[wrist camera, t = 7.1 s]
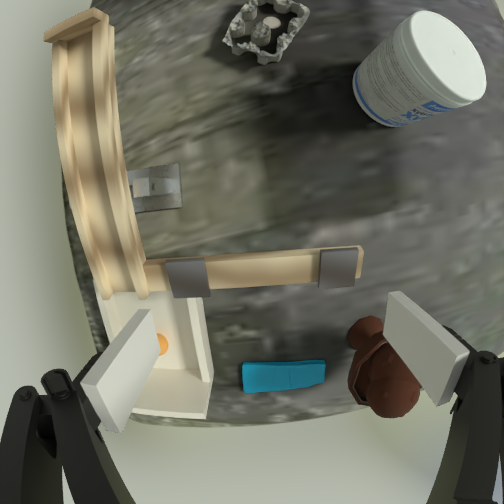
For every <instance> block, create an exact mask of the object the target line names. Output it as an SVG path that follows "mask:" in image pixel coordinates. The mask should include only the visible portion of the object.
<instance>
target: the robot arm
mask: <svg viewBox="0 0 504 504" xmlns="http://www.w3.org/2000/svg"><path fill="white" fill-rule="evenodd" d="M383 335H384V337H385V338H386V339H387V341H388V342H389V343H390V344H391V346H392V347H393V348H394V350H395V351H396V352H397V353H398V355H399V356H400V357H401V359H402V360H403V361H404V363H405V364H406V365H407V367H408V368H409V369H410V371H411V372H412V373H413V375H414V376H415V377H416V379H417V380H418V381H419V383H420V384H421V386H422V387H423V388H424V390H425V391H426V392H427V394H428V395H429V397H430V398H431V399H432V401H433V402H434V404H435V405H436V407H437V406H440V405H442V404H444V403H447V402H449V401H450V399H451V397H452V395H453V393H454V392H455V393H456V394H457V395H458V397H457V399H456V401H455V403H454V405H453V407H452V410H451V411H450V414H452V412H453V411H454V413H453V417H452V422H451V427H450V431H449V436H448V440H447V444H446V448H445V451H444V455H443V458H442V462H441V465H440V468H439V471H438V474H437V477H436V480H435V483H434V486H433V488H432V491H431V493H430V496H429V499H428V501H427V503H426V504H498V503H497V502H494V501H493V500H492V495H493V491H494V486H495V481H496V475H497V469H498V461H499V453H500V461H501V471H502V487H503V504H504V357H503V358H498V357H497V356H496V355H495V354H493V353H492V352H489V351H479V352H477V351H476V350H475V349H474V348H473V347H472V346H470V345H469V344H468V343H467V342H466V341H465V340H464V339H463V340H462V338H461V337H460V336H459V335H457V333H456V332H454V331H453V330H452V329H450V328H448V327H446V326H444V325H442V326H441V325H440V324H439V323H438V322H437V321H436V320H434V319H433V318H432V317H431V316H430V315H429V314H427V313H426V312H425V311H424V310H423V309H421V308H420V307H419V306H418V305H417V304H415V303H414V302H413V301H412V300H411V299H409V298H408V297H407V296H406V295H404V294H403V293H402V292H401V291H395V292H389V293H388V302H387V310H386V317H385V324H384V330H383ZM160 352H161V349H160V345H159V341H158V337H157V333H156V329H155V325H154V321H153V316H152V312H151V309H138V311H137V312H136V313H135V314H134V315H133V317H132V318H131V319H130V320H129V321H128V323H127V324H126V325H125V326H124V327H123V329H122V330H121V331H120V332H119V334H118V335H117V336H116V337H115V339H114V340H113V341H112V342H111V344H110V345H109V346H108V347H107V349H106V350H105V351H104V352H99V353H97V354H96V355H94V356H93V357H92V358H91V359H90V360H89V362H88V363H87V364H86V365H85V367H84V368H83V370H81V372H80V373H79V374H78V375H77V377H76V378H75V379H74V380H73V382H72V381H71V379H70V376H69V374H68V372H67V371H66V370H64V369H54V370H51V371H48V372H47V373H46V374H44V375H43V377H42V378H41V383H42V385H43V387H44V389H45V391H46V393H47V394H48V395H39V394H38V393H37V390H36V389H35V387H33V386H23V387H21V388H19V389H18V390H17V391H16V392H15V394H14V396H13V399H12V402H11V405H10V408H9V412H8V415H7V418H6V422H5V426H4V429H3V434H2V437H1V442H0V504H64V503H63V489H62V488H63V487H62V466H63V469H64V473H65V476H66V479H67V483H68V486H69V489H70V492H71V494H72V497H73V500H74V503H75V504H136V503H135V502H134V500H133V498H132V497H131V495H130V493H129V491H128V489H127V488H126V486H125V484H124V482H123V480H122V478H121V476H120V474H119V473H118V471H117V469H116V466H115V465H114V462H113V460H112V458H111V456H110V454H109V452H108V449H107V447H106V445H105V442H104V440H103V438H102V435H101V433H100V431H99V430H98V426H99V424H100V422H101V423H102V424H103V426H104V428H105V429H106V431H111V432H115V433H120V434H121V433H122V431H123V429H124V427H125V424H126V422H127V420H128V418H129V416H130V414H131V412H132V409H133V407H134V405H135V403H136V401H137V399H138V397H139V395H140V393H141V391H142V388H143V386H144V384H145V382H146V380H147V378H148V376H149V374H150V372H151V370H152V368H153V366H154V364H155V362H156V360H157V358H158V356H159V354H160Z"/></svg>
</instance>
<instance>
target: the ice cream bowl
mask: <svg viewBox="0 0 504 504" xmlns="http://www.w3.org/2000/svg"><path fill="white" fill-rule="evenodd" d="M383 330H384V327H383V324H382V322H381V319H379V318H376V317H373V316H368V317H365V318H362V319H359V320H358V322H357V323H356V324H355V325H354V326H353V327H352V328H351V329H350V334H349V338H348V340H349V342H350V344H351V346H352V347H353V348H354V349H357V351H356V352H355V355H354V358H353V361H352V365H351V368H350V371H349V375H348V387H349V390H350V392H351V393H352V395H353V397H354V398H355V400H356V402H357V403H358V404H359V405H366V406H370V407H371V409H372V410H373V411H374V412H375V413H376V414H377V415H378V416H380V417H384V418H397V417H403V416H404V415H405V414H406V413H408V412H409V411H410V410H411V409H412V408H413V406H414V405H415V404H416V403H417V401H418V399H419V395H420V388H421V387H422V386H421V384H420V383H419V381H418V380H417V379H416V377H415V376H414V375H413V373H412V372H411V371H410V369H409V368H408V367H407V365H406V364H405V363H404V361H403V360H402V359H401V357H400V356H399V355H398V353H397V352H396V351H395V350H394V348H393V347H392V346H391V344H390V343H389V342H388V341H387V339H386V338H385V337H384V335H383Z"/></svg>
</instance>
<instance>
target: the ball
mask: <svg viewBox="0 0 504 504" xmlns="http://www.w3.org/2000/svg"><path fill="white" fill-rule="evenodd" d="M157 337H158V341H159V345H160V349H161V352H160V354H159V356H161V355H163V354H165V353H166V351H167V349H168V341H167V339H166V338H165V337H164V336H163V335H161V334H158V333H157Z"/></svg>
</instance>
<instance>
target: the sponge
mask: <svg viewBox="0 0 504 504" xmlns="http://www.w3.org/2000/svg"><path fill="white" fill-rule="evenodd" d="M325 367H326V364H325V361H324V360H307V361H294V362H286V363H285V362H244V363H243V365H242V376H243V378H242V380H243V390H244V392H247V393H256V392H266V391H271V390H272V391H279V390H281V391H282V390H289V389H296V388H307V387H310V386H312V385H314V384H319V383H323V382H324V379H325V375H324V372H325Z"/></svg>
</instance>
